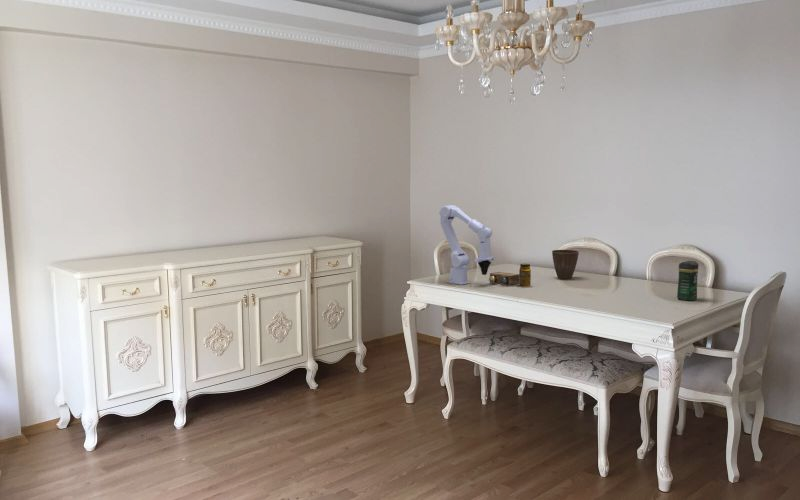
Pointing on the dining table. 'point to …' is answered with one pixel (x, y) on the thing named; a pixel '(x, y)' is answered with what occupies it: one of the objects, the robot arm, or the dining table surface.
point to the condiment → (524, 276)
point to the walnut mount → (512, 278)
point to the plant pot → (565, 263)
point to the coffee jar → (687, 280)
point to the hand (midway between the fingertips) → (484, 274)
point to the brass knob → (492, 279)
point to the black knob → (504, 280)
